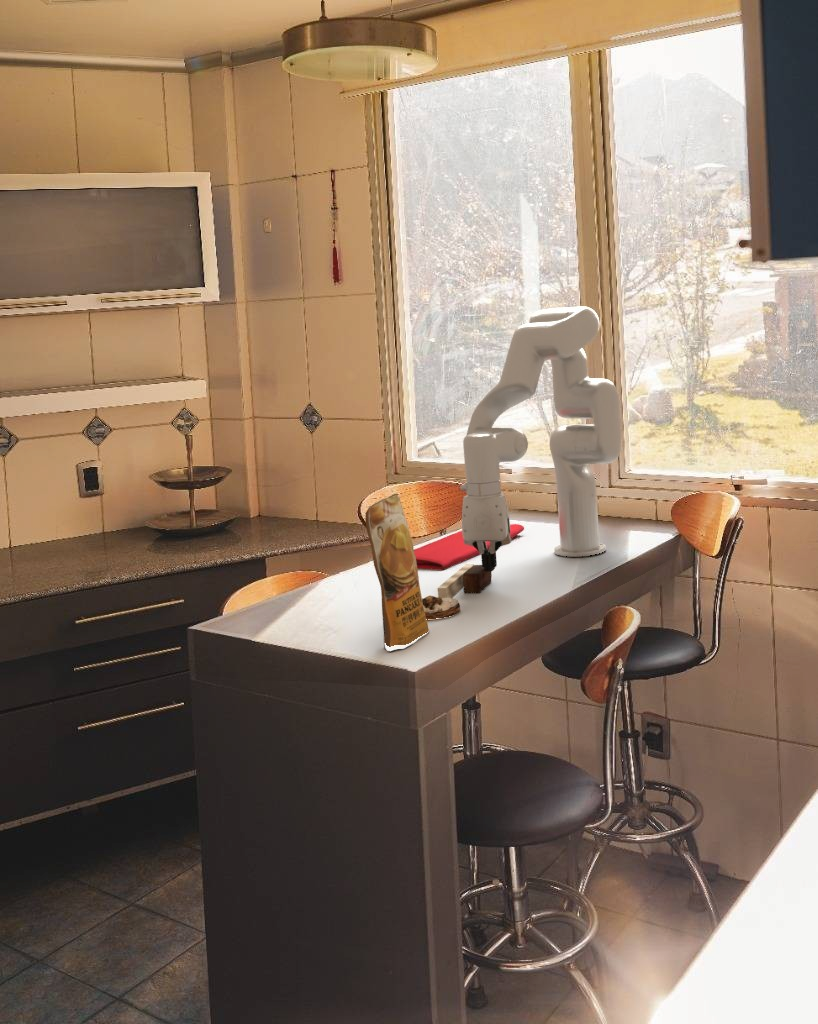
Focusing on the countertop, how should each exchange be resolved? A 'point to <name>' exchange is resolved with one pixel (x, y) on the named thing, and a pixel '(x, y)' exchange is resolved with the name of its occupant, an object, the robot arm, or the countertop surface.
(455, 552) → the dish drying mat
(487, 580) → the brick
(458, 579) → the beige long bar
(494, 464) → the robot arm
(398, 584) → the pancake mix bag
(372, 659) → the countertop surface
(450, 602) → the cream topped tart
